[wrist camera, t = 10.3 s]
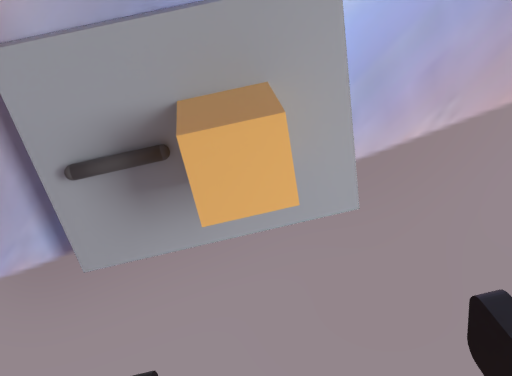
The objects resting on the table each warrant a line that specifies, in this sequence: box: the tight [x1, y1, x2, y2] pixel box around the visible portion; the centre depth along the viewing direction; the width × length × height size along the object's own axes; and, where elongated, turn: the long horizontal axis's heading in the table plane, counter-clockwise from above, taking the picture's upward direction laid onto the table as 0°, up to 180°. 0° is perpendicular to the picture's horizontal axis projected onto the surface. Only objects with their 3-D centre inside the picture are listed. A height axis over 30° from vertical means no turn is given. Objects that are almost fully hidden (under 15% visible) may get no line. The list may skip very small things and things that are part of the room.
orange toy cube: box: [176, 82, 300, 227], centre depth 24 cm, size 5×5×5 cm
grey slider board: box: [0, 0, 359, 273], centre depth 26 cm, size 18×14×5 cm
